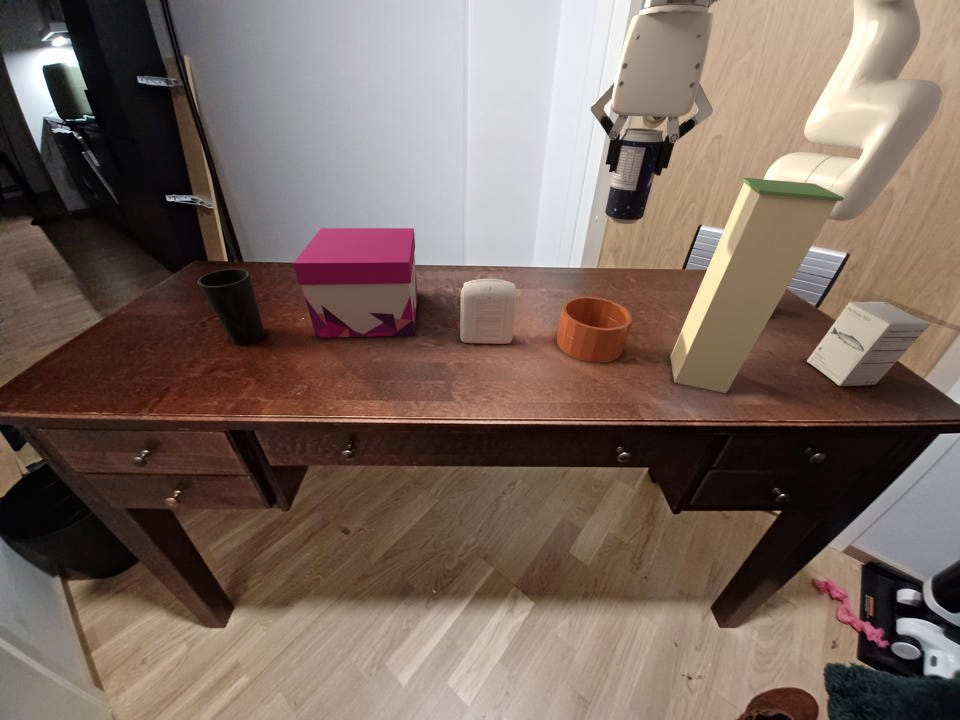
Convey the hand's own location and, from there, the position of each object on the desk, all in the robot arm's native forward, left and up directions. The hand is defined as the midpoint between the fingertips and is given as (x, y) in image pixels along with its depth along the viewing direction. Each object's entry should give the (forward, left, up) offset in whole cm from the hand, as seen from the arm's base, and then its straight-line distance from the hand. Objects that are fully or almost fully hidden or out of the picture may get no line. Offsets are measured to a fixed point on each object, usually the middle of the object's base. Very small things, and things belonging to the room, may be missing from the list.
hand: (634, 170), depth 53 cm
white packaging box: (-40, +19, -30) cm, 53 cm away
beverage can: (0, 0, -7) cm, 7 cm away
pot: (0, 0, -30) cm, 30 cm away
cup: (+63, -17, -30) cm, 72 cm away
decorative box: (+40, -21, -30) cm, 55 cm away
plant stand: (-14, +13, -30) cm, 36 cm away
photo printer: (+19, -6, -30) cm, 37 cm away
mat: (-14, +13, 0) cm, 19 cm away
